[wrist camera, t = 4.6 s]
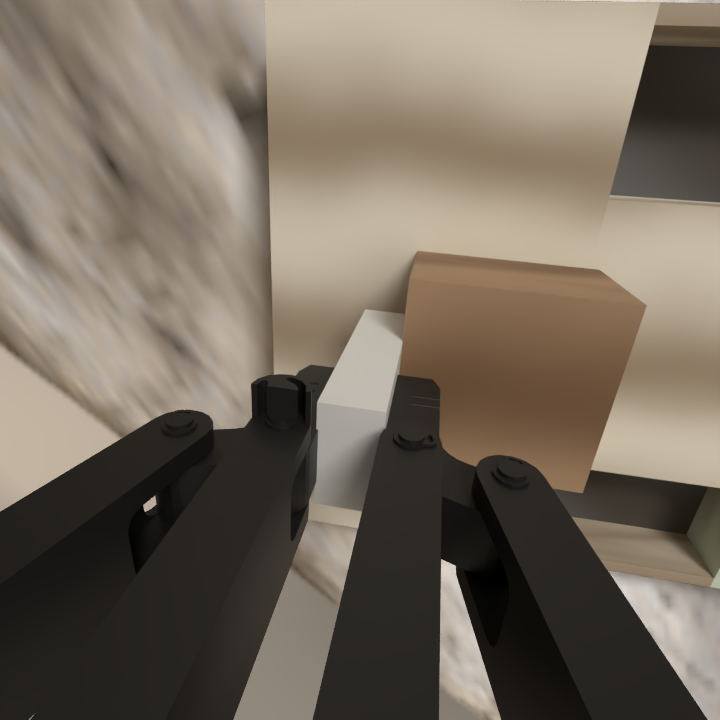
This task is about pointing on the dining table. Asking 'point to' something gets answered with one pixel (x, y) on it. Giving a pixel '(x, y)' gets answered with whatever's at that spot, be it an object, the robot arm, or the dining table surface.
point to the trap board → (518, 210)
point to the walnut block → (520, 357)
